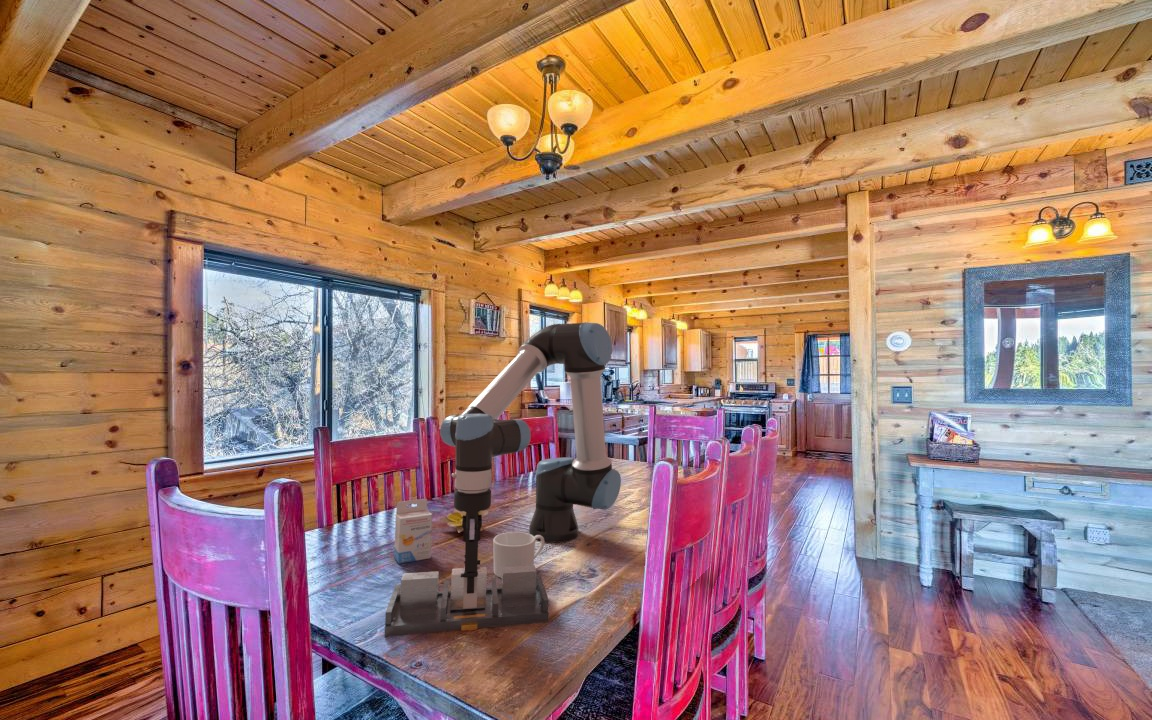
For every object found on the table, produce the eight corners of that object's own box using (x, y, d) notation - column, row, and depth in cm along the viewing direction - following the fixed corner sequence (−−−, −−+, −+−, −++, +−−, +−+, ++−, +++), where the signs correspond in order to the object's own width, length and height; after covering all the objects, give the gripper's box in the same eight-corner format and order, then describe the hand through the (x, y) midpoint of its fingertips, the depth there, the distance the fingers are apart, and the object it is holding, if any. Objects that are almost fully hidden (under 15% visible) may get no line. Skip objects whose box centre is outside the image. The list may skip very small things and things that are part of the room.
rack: (539, 592, 109) (540, 556, 109) (548, 623, 96) (549, 582, 96) (395, 603, 102) (396, 564, 103) (383, 638, 89) (385, 593, 89)
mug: (500, 583, 113) (501, 549, 113) (486, 566, 122) (487, 535, 123) (552, 573, 119) (552, 540, 119) (535, 558, 129) (536, 528, 129)
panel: (485, 600, 101) (486, 567, 102) (485, 607, 98) (486, 573, 99) (450, 602, 100) (452, 568, 100) (450, 610, 97) (451, 575, 97)
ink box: (398, 564, 122) (400, 506, 123) (393, 558, 127) (395, 502, 127) (431, 558, 127) (433, 502, 127) (426, 552, 131) (427, 497, 132)
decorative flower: (431, 521, 151) (440, 490, 153) (462, 523, 159) (471, 493, 160) (452, 538, 140) (462, 504, 141) (485, 539, 147) (494, 507, 148)
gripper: (455, 480, 107) (453, 586, 106) (452, 499, 91) (449, 624, 91) (489, 479, 109) (487, 584, 108) (492, 498, 93) (489, 621, 92)
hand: (469, 602), depth 99 cm, fingers closed on panel, 3 cm apart
